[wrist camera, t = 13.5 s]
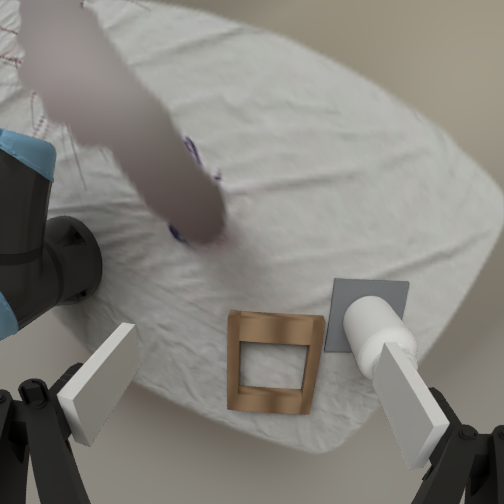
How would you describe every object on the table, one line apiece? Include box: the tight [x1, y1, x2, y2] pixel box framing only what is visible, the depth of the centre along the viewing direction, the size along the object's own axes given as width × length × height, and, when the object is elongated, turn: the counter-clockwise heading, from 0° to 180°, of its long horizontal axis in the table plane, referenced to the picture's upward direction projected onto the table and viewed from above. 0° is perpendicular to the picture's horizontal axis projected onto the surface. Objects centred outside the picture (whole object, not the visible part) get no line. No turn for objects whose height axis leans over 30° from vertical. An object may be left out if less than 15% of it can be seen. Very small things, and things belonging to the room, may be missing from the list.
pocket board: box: [227, 310, 325, 414], centre depth 47 cm, size 14×18×2 cm
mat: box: [324, 278, 409, 352], centre depth 45 cm, size 12×12×1 cm
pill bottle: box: [343, 296, 418, 381], centre depth 37 cm, size 8×8×15 cm
